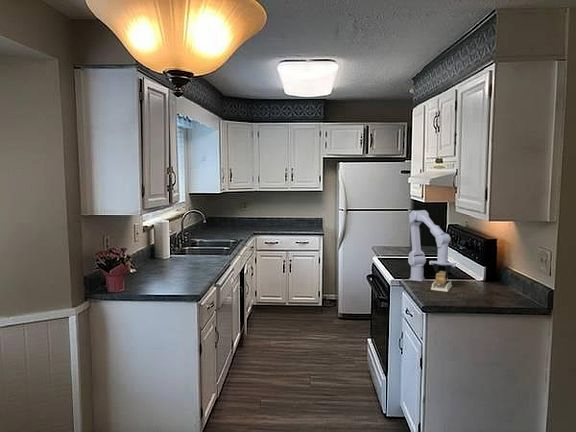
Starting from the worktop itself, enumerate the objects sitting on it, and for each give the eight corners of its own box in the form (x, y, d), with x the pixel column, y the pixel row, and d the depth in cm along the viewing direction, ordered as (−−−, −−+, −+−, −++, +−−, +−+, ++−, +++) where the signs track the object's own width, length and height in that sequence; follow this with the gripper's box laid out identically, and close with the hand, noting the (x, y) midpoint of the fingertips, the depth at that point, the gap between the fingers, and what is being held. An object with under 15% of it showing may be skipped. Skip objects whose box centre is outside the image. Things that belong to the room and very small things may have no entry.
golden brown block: (439, 278, 268) (440, 270, 268) (447, 279, 266) (447, 271, 266) (435, 283, 258) (435, 274, 258) (443, 284, 256) (444, 275, 255)
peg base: (435, 284, 271) (436, 279, 271) (451, 286, 267) (452, 280, 266) (430, 289, 259) (431, 284, 259) (447, 291, 254) (447, 286, 254)
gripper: (428, 254, 261) (427, 277, 262) (454, 257, 254) (453, 280, 255) (431, 252, 267) (430, 275, 268) (456, 255, 260) (455, 277, 261)
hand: (441, 277), depth 262 cm, fingers closed on golden brown block, 4 cm apart
